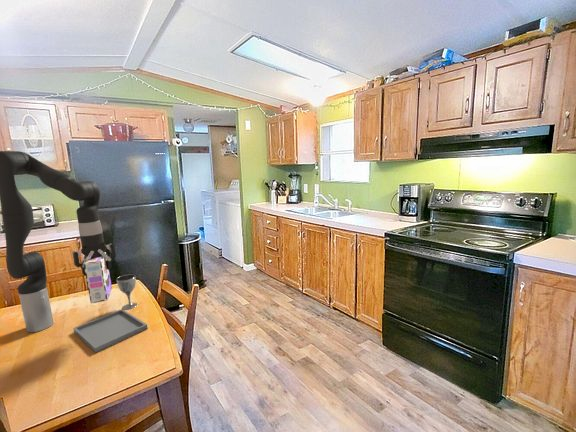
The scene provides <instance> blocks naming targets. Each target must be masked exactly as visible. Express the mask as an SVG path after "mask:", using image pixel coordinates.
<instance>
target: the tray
mask: <svg viewBox="0 0 576 432" xmlns="http://www.w3.org/2000/svg"><path fill="white" fill-rule="evenodd" d="M72 329H73V330H72V331H73V333H74V334H75V335H76V336H77V337H78V338H79V339H80V340H81V341H83V343H84V344H86V346H88V347H89V348H90V349H91V350H92V351H93V353H95V354H97V353H99V352H101V351H104V350H106V349H108V348H110V347H112V346H114V345H116V344H119V343H120V342H123V341H125V340H127V339H129V338H131V337H134V336H135V335H137V334H140V333H142V332H143V331H144V332H145V331H146V330H148V324H147V323H146V322H144V321H142V320H141V319H139V318H138V317H136V316H134V315H132V314H131V313H130V312H128V311H126V310H124V309H122V308H121V309H119V310H116V311H113V312H112V313H111V312H110V313H107V314H105V315H104V316H101V317H98V318H96V319H93V320H91V321H88V322H85V323H82V324H81V325H78V326H75V327H73V328H72Z"/></svg>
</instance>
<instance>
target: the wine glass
mask: <svg viewBox="0 0 576 432" xmlns="http://www.w3.org/2000/svg"><path fill="white" fill-rule="evenodd" d="M136 281H137V280H136V275H135V274H130V273H129V274H124V275H120V276H119V277H117V278H116V284H117V287H118V290H119V291H120V292H122V293H123V294H125V295H126V297H127V299H128V300H127V301H128V303H127V304H124V305H123V306H122V307H121V309H123V310H125V311H126V310H133V309H135V308H137V307H138V306H137V303H138V302H131V294H132V292H133V291H134V290H135V288H136V284H137V283H136ZM136 306H137V307H136ZM134 307H135V308H134ZM132 308H133V309H132Z"/></svg>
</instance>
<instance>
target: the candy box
mask: <svg viewBox="0 0 576 432" xmlns="http://www.w3.org/2000/svg"><path fill="white" fill-rule="evenodd" d="M104 253H105V254H106V255H107V252H106V251H104ZM106 261H107V260H106V259H105V258H104V257H103V256H101V257H96V258H92V259H90V260H87V261H86V262H85V263H84V269H85V274H86V276H85V279H86V285H87V289H88V296H89V300H90V301H89V302H90V304H95V303H102V302H107V301H108V300H109V298H110V295H111V292H112V288H113V286H112V280H111V279H112V278H111V275H110V270H108V269H107V265H106Z"/></svg>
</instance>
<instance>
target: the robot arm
mask: <svg viewBox="0 0 576 432" xmlns="http://www.w3.org/2000/svg"><path fill="white" fill-rule="evenodd" d="M22 175H29V176H34V177H37V178H38V179H39V180H40V181H41V183H43V185H45V186H46V187H48V188H51V189H53V190H56V191H58V192H61V193H62V194H63V196H65V197H66V198H68V199H70V200H72V201H76V202H81V201H83V203H82V205H81V206H80V207H77V209H76V210H75V211H76V212H75V213H76V217H77V224H78V233H79V239H80V244H81V249H80V250H78V251H76V250H73V251H72V257H73V263H74V266H75V267H76V268H81V274H82V275H83V276H85V277H86V274H85V269H84V263H85V262H86V261H87V260H90V259H92V258H96V257H101V256H103V257H104V258H105V259H106V260H107V261H106V265H107V269H108V270H109V271H111V270H112V267H113V265H112V260H113V259H116V257H117V255H116V250H115V244H114V243H109V244H105V239H104V233H103V227H102V226H103V225H102V223H101V219H100V214H99V213H100V212H99V206H100V198H101V190H100V187H99V186H98V184H97V183H96V182H94V181H92V180H91V181H89V180H88V181H86V180H85V181H77V180H76V178H75V177H73V175H72V176H71V175H70V174H67V173H65V172H63V171H60V170H57V169H55V168H54V167H53V168H52V167H50V166H49V165H47V164H45V163H43V162H42V161H40V160H38V159H37V158H35V157H33V156H32V155H30V154H29V153H26V152H24V151H20V150H19V151H17V150H0V207H1V216H2V224H3V228H4V238H5V246H6V248H5V250H6V251H5V254H6V255H5V257H6V258H5V259H6V260H5V261H6V269H7V272H8V274H9V276H10V277H11V278H12V279H14V280H20V279H22V278H25V277H26V279H25V280H24V281H23V282H22V283H21V284H19V285H18V287H17V293H18V297H19V301H20V307H21V312H22V316H23V319H24V325H25V329H26V332H27V333H36V332H37V333H38V332H40V331H41V332H42V331H43V330H46V329H48V328H50V327H52V325H54V323H55V322H54V318H53V317H54V316H53V312H52V306H51V302H50V296H49V292H48V288H47V282H48V280H47V279H48V278H47V269H46V262H45V259H44V257H43V255H42V254H41V253H40V252H38V251H31V252H27V253H24V246H25V242H26V240H27V239H28V236H29V235H30V233H31V231H32V229H33V227H34V223H35V219H34V211H33V210H34V209H33V207H32V205H31V203H30V202H29V201H28V200H27V199H26V198H25V196H24V195H22V193H21V192H20V190H18V186H17V184H16V181H15V176H22ZM107 249H108V250H109V256H108V254H107V253H106V254H105V253H104V252H106V250H107ZM81 254H83V255H84V256H83V258H82V261H81V262H80V257H81Z"/></svg>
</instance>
